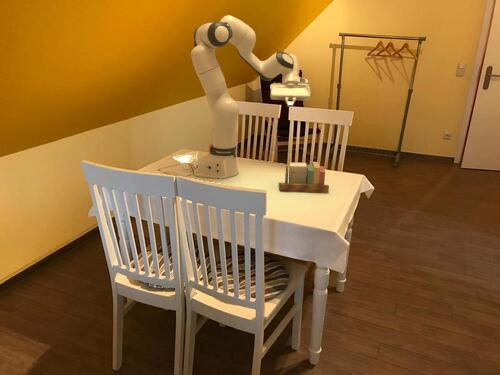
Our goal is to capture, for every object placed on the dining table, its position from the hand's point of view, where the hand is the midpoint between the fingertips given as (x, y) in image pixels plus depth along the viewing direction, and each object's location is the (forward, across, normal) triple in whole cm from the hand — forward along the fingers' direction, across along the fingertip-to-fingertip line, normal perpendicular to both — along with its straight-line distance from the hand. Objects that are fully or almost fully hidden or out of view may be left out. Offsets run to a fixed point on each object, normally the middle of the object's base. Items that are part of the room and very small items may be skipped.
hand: (290, 106), depth 211 cm
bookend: (+42, -3, +5) cm, 43 cm away
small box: (+40, +4, +7) cm, 41 cm away
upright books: (+42, +12, +5) cm, 44 cm away
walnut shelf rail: (+46, +7, +1) cm, 46 cm away
